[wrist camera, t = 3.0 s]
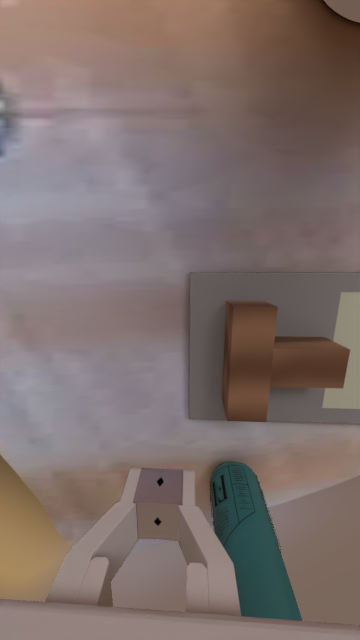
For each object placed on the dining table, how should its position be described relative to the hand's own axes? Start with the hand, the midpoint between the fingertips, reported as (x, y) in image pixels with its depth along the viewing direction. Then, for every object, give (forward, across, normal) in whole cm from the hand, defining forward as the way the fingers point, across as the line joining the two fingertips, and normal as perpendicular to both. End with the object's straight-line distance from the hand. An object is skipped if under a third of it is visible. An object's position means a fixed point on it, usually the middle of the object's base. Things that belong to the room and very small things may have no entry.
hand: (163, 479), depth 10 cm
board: (+17, -16, 0) cm, 23 cm away
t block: (+16, -11, -1) cm, 19 cm away
